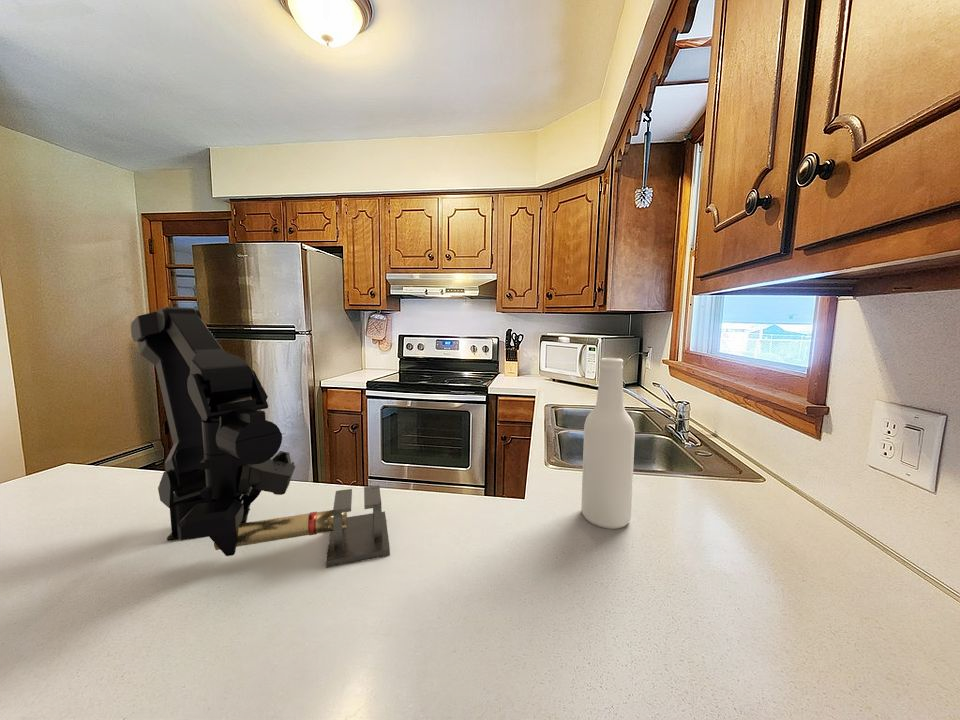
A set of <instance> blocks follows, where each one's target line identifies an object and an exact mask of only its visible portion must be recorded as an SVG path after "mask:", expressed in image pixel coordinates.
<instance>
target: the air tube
mask: <svg viewBox="0 0 960 720" xmlns="http://www.w3.org/2000/svg"><path fill="white" fill-rule="evenodd" d="M347 517H348V512H344V513H342V527H343V529H347ZM330 531H334V524H333V509H329V510H323V511H312V512H309V513H301V514H296V515H295V514H294V515H289V516H281V517H275V518H269V519H262V520H256V521H254V520H253V521H248V522H246V523H240V524H239V529H238V537H237V545H236V548H237V547H242V546H243V547H244V546H251V545H256V544H262V543H269V542H274V541H281V540H286V539H292V538H298V537H299V538H300V537H306V536H313V535H318V534H322V533H323V534H324V533H329V532H330ZM213 546H214V549H215V550H216V551H221V550H220V549H219V547H218V546H217V545H216V544H215V543H214V542H213Z"/></svg>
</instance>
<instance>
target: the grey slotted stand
mask: <svg viewBox="0 0 960 720" xmlns="http://www.w3.org/2000/svg"><path fill="white" fill-rule="evenodd" d="M363 497H364V498H363V503H364V505H363V506H364V507H363V508H364V510H368V509H369V510H371V509H372V512H371V513H365V514H359V515H353V516H347V529H343V527H342V513H344V512H347V513H350V512H352V501H353V500H352V499H353V488H350V489H349V488H346V489H341V490H336V491H335V495H334V502H333V508H332V510H333V524H334V531H330V533H329V539H328V545H327V546H328V547H327V551H326V559H325V568H327V569H328V568H330V567H337V566H343V565H347V564H353V563H359V562H363V561H362V560H364V561H367V560H368V559H369V560H373V558H374V559H378V558H377V557H379V558H384V557H389V556H391V550H390V549H391V547H390V540H389V531H388V523H387V517H386V511H382V509H383V508H382V497H381V487H380V484H378V485H372V486H365V487H363ZM383 556H384V557H383Z"/></svg>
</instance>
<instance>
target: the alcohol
mask: <svg viewBox="0 0 960 720" xmlns="http://www.w3.org/2000/svg"><path fill="white" fill-rule="evenodd" d="M599 362H600V365H599V369H600V370H599V380H598V387H597V395H596V403H595V406H594V408H593V409H592V410H591V411H590V412H589V413H588V415H587V416H586V418H585V421H584V425H583V444H582V445H583V448H582V450H583V452H582V454H583V455H582V477H581V478H582V481H581V508H580V509H581V513H582V515H583V517H584V518H585V519H586V521H588V522H589V523H590V524H592V525H593V526H596V527H600V528H601V529H602V528H603V529H608V530H609V529H610V530H617V529H622V528H624V527H626V526H627V525H628V523H629V522H630V521H631V519H632V506H633V505H632V501H633V482H634V480H633V479H634V462H635V461H634V459H635V441H636V440H635V439H636V435H635V434H636V429H635V425H634V420H633V419H632V417H631V415H629V413H628V412H627V411H626V408H625V405H624V402H625V401H624V400H625V399H624V380H623V377H624V376H623V375H624V374H623V369H624V366H623V365H624V360H623V359H622V358H619V357H618V358H617V357H602V358H601V359H599Z"/></svg>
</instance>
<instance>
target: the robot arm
mask: <svg viewBox="0 0 960 720" xmlns="http://www.w3.org/2000/svg"><path fill="white" fill-rule="evenodd" d="M202 319H203V318H202V314H201V312H200V310H199V309H196V308H193V307H179V306H178V307H177V306H176V307H175V306H174V307H173V306H164V307H162V308H161V307H160V308H158V309H157V310H156V311H153V312H150V313H145V314H142V315H141V314H140V315H138V316H136V317H135V319H133V321H132V322H131V324H130V332H131V333H130V334H131V338H132V341H133V342H134V343H137V346H138V350H139V353H140V355H141V356H142V357H144V358H145V359H146V360H147V361H149V362H150V363H151V364H152V365H154V367H155V369H156V373H157V378H158V384H159V386H160V387H159V388H160V392H161V396H162V401H163V406H164V409H165V415H166V418H167V424H168V427H169V431H170V435H171V441H172V447H171V449H170V450H169V454H168V455H167V458H166V459H165V461H164V470H165V471H163V473H162V475H161V478H160V479H161V480H160V481H159V485H158V487H157V491H158V495H159V500H160V502H161V503H162V504H163V505H165V506H166V507H167V508H168V509H169V517H170V527H171V533H170V534H168V536H167V537H166V541H167V542H170V541H176V540H180V541H187V540H188V541H189V540H194V539H195V540H196V539H200V538H201V539H202V538H207V537H209V539H210V540H211V541H212V542H213V544H214V543H215V544H216V545H217V546H218V547H219V549H220V550H219V551H221V552H222V553H223V554H224V556H225V557H231V556H234V555H235V554H236V552H237V551H236V550H237V547H236V545H237V537H238V529H239V524H240V523H247V521H248V516H249V512H250V510H251V504H252V503H254V501H255V500H256V499H257V498H258V497H259V496H260V494H261V493H262V492H266V493H267V492H269V493H272V494H273V495H276V496H282V495H286V492H287V490H288V488H289V486H290V483H291V480H292V477H293V475H294V471H295V469H296V465H295V462H294V461H292V460H291V455H290V452H288V451H287V452H286V451H283V450H280V449H281V445H282V442H283V433H282V432H281V430H280V428H279V426H278V424H276V423H274V422H273V421H269V420H267V419H266V412H265V411H264V410H266V409H269V404H268V401H267V399H268V397H269V396H268V394H267V392H266V391H265V388H264V387H263V385H262V383H261V382H260V380H259V378H258V375H257V373H256V372H255V370H254V369H253V368H252V367H251V366H250V365H249V364H248V362H246V361H245V360H244V358H242V357H241V356H239V355H236V354H232V353H231V352H226V351H225V350H224V349H223V347H222V346H221V345H220V343H219V342H218V341H217V338H215V336H214V335H213V334H212V332H211V331H210V330H209V328H208V327H207V326H206V324H205V323H204V321H203V320H202ZM279 450H280V451H279Z"/></svg>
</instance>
